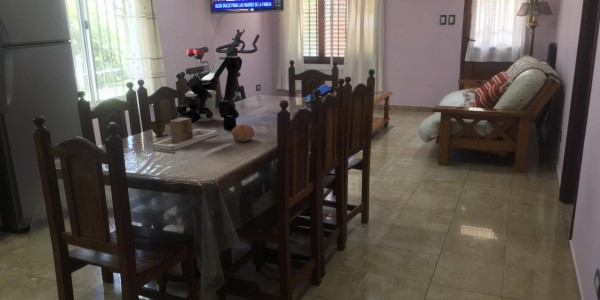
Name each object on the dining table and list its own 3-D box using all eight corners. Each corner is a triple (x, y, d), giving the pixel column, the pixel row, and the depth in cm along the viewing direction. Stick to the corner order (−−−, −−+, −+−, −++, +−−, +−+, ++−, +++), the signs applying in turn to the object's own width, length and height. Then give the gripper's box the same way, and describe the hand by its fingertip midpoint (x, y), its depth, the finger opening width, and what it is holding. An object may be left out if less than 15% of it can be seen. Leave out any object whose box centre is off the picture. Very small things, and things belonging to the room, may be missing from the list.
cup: (169, 135, 248) (168, 120, 246) (161, 138, 241) (159, 123, 239) (157, 134, 250) (155, 119, 248) (149, 137, 243) (147, 122, 241)
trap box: (198, 135, 244) (197, 129, 243) (216, 137, 239) (216, 130, 238) (153, 151, 217) (152, 143, 216) (173, 153, 212) (172, 146, 211)
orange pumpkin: (234, 144, 225) (232, 128, 223) (231, 139, 235) (229, 123, 233) (256, 142, 227) (255, 126, 225) (252, 137, 238) (251, 121, 235)
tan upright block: (183, 139, 230) (181, 117, 227) (193, 140, 227) (191, 118, 225) (172, 143, 223) (169, 120, 220) (182, 144, 221) (179, 121, 218)
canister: (212, 123, 272) (209, 87, 267) (182, 123, 275) (179, 87, 270) (222, 117, 289) (220, 83, 284) (194, 117, 292) (191, 83, 287)
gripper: (176, 89, 232) (163, 115, 225) (207, 90, 223) (194, 118, 217) (188, 102, 240) (176, 128, 234) (218, 104, 232) (206, 131, 225)
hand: (187, 126), depth 227 cm, fingers closed
